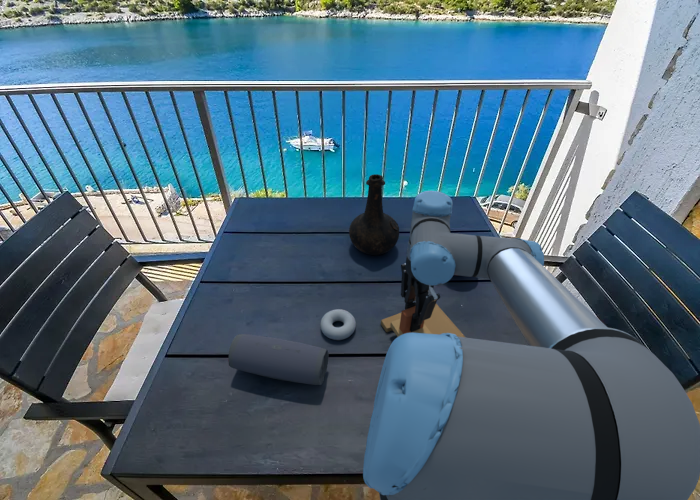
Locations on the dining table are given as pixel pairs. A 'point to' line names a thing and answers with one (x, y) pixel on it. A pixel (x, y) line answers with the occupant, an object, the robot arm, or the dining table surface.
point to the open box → (407, 323)
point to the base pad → (429, 323)
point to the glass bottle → (374, 223)
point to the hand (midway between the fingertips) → (411, 325)
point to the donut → (341, 331)
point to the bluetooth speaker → (278, 358)
